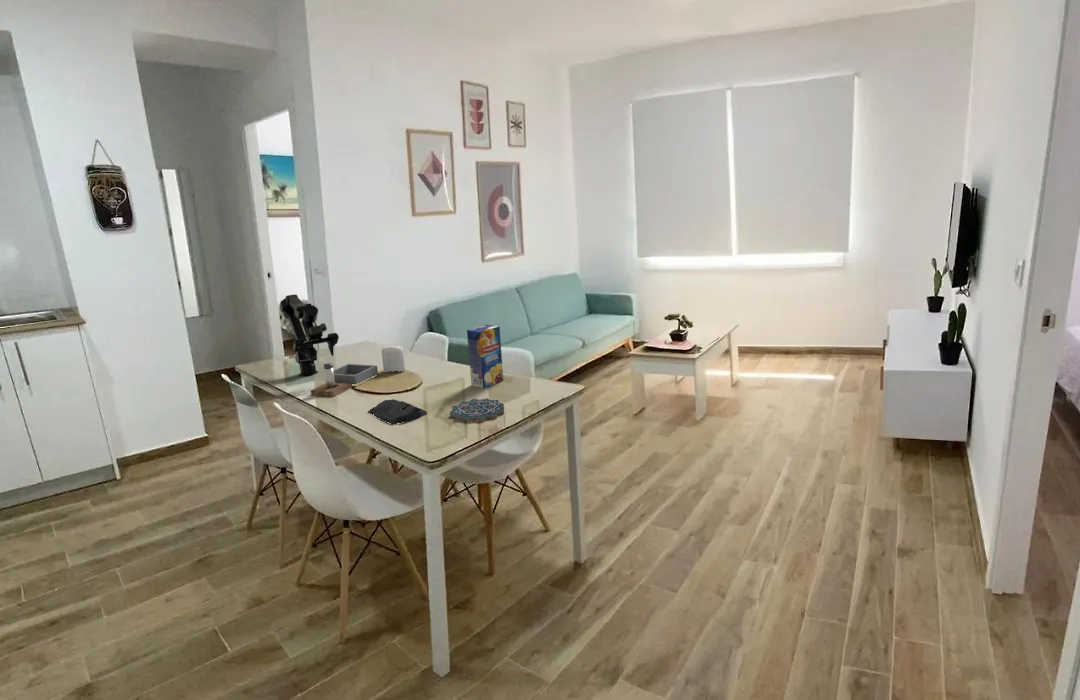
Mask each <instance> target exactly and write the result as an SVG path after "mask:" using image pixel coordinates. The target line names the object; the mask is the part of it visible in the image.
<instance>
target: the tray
mask: <svg viewBox="0 0 1080 700" xmlns="http://www.w3.org/2000/svg"><path fill="white" fill-rule="evenodd" d="M377 374H378V375H379V371H378V366H377V365H373V364H372V365H371V364H361V363H360V364H358V363H356V364H354V363H347V364H344V365H342V366H340V367H337V368H336V369H334V376H335V382H343V383H352V384H357V383H360V382H362V381H364V380H366V379H368V378H371V377H372V376H375V375H377Z"/></svg>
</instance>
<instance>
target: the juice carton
mask: <svg viewBox="0 0 1080 700" xmlns="http://www.w3.org/2000/svg"><path fill="white" fill-rule="evenodd" d="M500 330H501V329H500V326H499V325H494V324H493V325H491V324H484V325H481V326H477V327H474V328H470V329H467V330H466V334H467V337H466V338H467V347H468V357H469V359H468V360H469V370H470V382H471V386H473V387H477V388H482V389H485V388H487V387H490V386H493V385H496V384H498V383H500V382H503V381H504V370H503V358H502V357H503V356H502V344H501V343H502V341H501V331H500Z"/></svg>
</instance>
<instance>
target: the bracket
mask: <svg viewBox="0 0 1080 700" xmlns="http://www.w3.org/2000/svg"><path fill="white" fill-rule="evenodd" d="M335 383H336V387H335V388H333V389H330V388H327V383H326V382H325V383H323V384H320V385H318V386H317V387H315V388H313V389H310V395H311V394H314V396H321V395H325V396H324V397H332V396H335V397H337V396H338V395H340V394H343V393H345V392H346V391H348V390H350V388H351V386H352V383H343V382H335ZM352 387H353V386H352ZM351 389H352V388H351ZM336 395H337V396H336Z"/></svg>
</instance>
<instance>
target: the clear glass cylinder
mask: <svg viewBox="0 0 1080 700" xmlns="http://www.w3.org/2000/svg"><path fill="white" fill-rule="evenodd" d="M323 368H324V369H323V370H324V376H325V383H327V388H330V389H333V388H335V387H336V383H335V376H334V370H335V369H334V364H333V363H332V362H327V363H324V364H323Z"/></svg>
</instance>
